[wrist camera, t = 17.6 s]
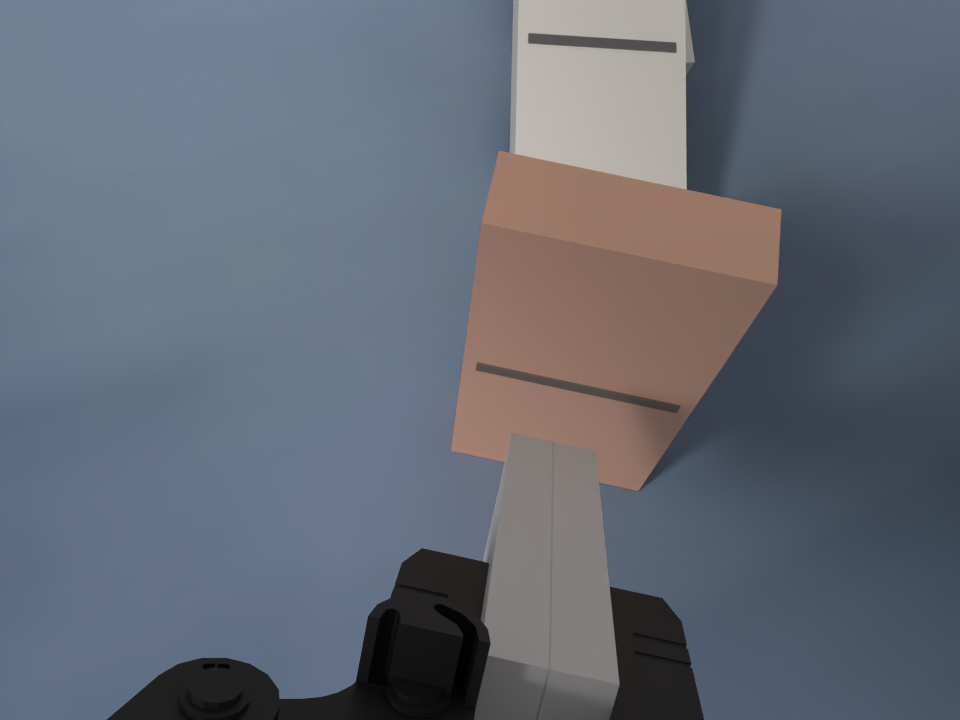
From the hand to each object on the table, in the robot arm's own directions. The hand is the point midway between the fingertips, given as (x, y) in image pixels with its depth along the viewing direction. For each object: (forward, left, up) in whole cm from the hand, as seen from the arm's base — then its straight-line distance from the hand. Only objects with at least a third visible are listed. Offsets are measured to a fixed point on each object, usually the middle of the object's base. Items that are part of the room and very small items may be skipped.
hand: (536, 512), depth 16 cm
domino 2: (-3, +3, -7) cm, 8 cm away
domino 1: (-8, +8, -6) cm, 13 cm away
